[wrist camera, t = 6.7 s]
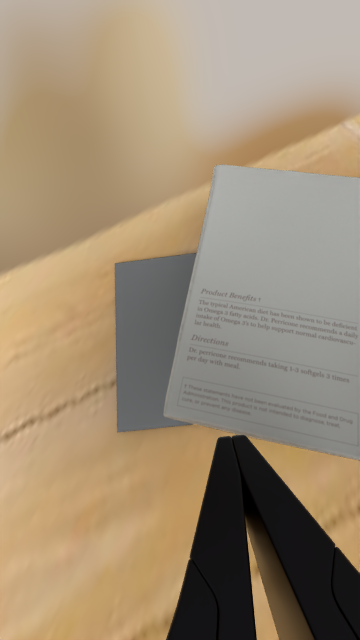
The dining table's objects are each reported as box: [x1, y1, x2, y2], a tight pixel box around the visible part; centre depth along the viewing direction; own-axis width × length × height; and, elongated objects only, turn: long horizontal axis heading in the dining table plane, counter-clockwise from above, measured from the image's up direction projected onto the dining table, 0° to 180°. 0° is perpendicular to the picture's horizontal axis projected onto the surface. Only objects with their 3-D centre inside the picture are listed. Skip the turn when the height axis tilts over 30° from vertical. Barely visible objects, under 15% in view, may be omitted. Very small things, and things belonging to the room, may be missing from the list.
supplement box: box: [163, 165, 360, 461], centre depth 15 cm, size 7×7×13 cm
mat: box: [115, 253, 197, 432], centre depth 19 cm, size 12×12×1 cm
